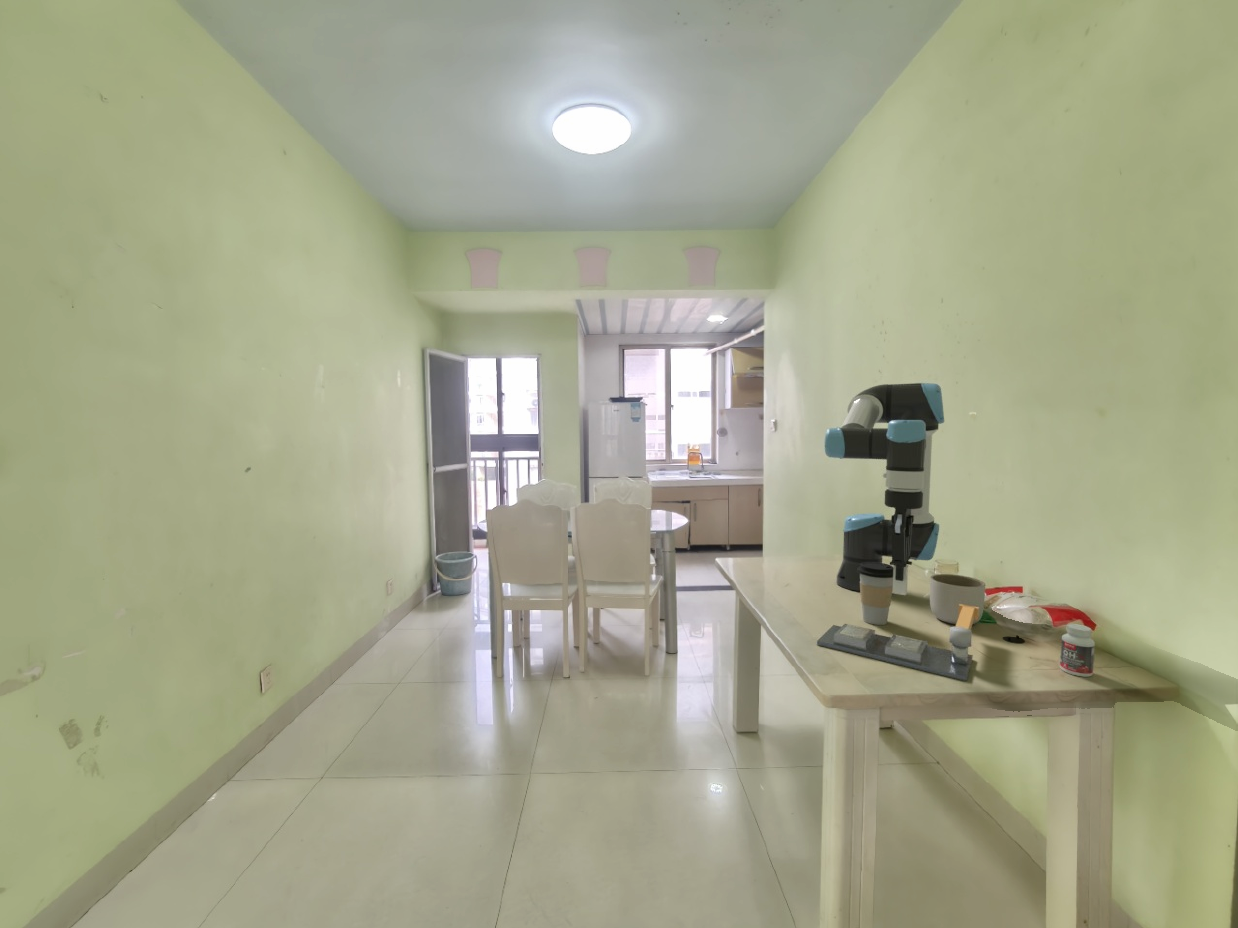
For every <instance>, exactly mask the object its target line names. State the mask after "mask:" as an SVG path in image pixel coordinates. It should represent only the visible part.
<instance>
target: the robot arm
mask: <svg viewBox="0 0 1238 928" xmlns="http://www.w3.org/2000/svg"><path fill="white" fill-rule="evenodd" d="M942 395H943V394H942V388H941V386H940V385H939V384H937V383H931V382H930V383H929V382H916V383H915V382H914V383H913V382H911V383H895V384H894V383H893V384H885V383H884V384H883V383H882V384H878V385H874V386H872V387H869V388H867V389H864V390H862V391H861V392H859V393H857V394H856V395H855V396H854V397H853V398H852V399H850V402H849V404H848V406H847V414H846V417H845V418H844V421H843V423H842V424H841V426H840V427H838V426H837V427H831V428H828V429H826V431H825V436H824V453H825V455H826V456H827V457H828V458H833V459H852V460H853V459H855V460H856V459H859V460H861V459H862V460H870V459H871V460H886V466H885V470H886V471H885V473H883V474H882V477H883V478H884V479H885V478H886V479H885V487H886V489H885V491H884V505H885V506H886V507H888V508H894V512H893V513H892V514H891V517H890V518H891V519H887V518H886V519H885V516H884V514H882V513H859V514H852V515H849V516H847V517H846V518H845V520H844V527H843V531H842V533H843V547H842V549H843V551H842V553H843V554H842V561H841V564H840V567H839V568H838V572H837V574H836V583H835V584H837V585H838V586H839V587H841V588H845V589H847V590H851V591H857V592H860V573H858V572H857V570H858V567H860V564H861V563H863V562H879V563H883V557H888V558H890V557H891V561H889V565H891V566H893V591H892V594H895V595H901V596H907V594H908V580H909V579H908V576H909V565H910V566H912V565H913V561H910V560H914V561H930V560H932V559H933V558H934V557H935V556H934V555H935V552H936V548H937V544H938V537H939V533H940V524H939V523H937V522H935V517H934V516H933V515H932V514H931V513H930V492H931V491H930V488H931V470H932V468H931V467H932V449H933V448H932V446H933V445H932V444H933V435H934V434H935V433H936V432H937V431H938V430H939V425H940V424H944V423H945V414H944V405H943V404H944V403H943V396H942ZM876 424H887V428H880V427H879V428H877V427H876V428H874V427H875V425H876Z"/></svg>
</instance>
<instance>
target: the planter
mask: <svg viewBox="0 0 1238 928" xmlns="http://www.w3.org/2000/svg"><path fill="white" fill-rule="evenodd" d="M985 595H986V583H985V582H984V581H983V580H980V579H978V578H975V577H970V576H966V575H962V574H961V575H959V574H950V573H938V574H937V573H936V574H932V575H931V576H930V581H929V606H930V609H931V610H930V611H931V612H932V614H933V615H934V617H935V618H937V619H938V620H940V621H942V622H944V623H947V624H951V625H956V623H957V620H958V618H959V616H958V615H959V604H962V605H968V606H974V607H979V613H978V620H975V619H974V621H973V624H972V625H975V624H976V623H978V622H979V621H980V620H981V618H982V616H983V614H984V610H985V609H984V607H985V597H986V596H985Z"/></svg>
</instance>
